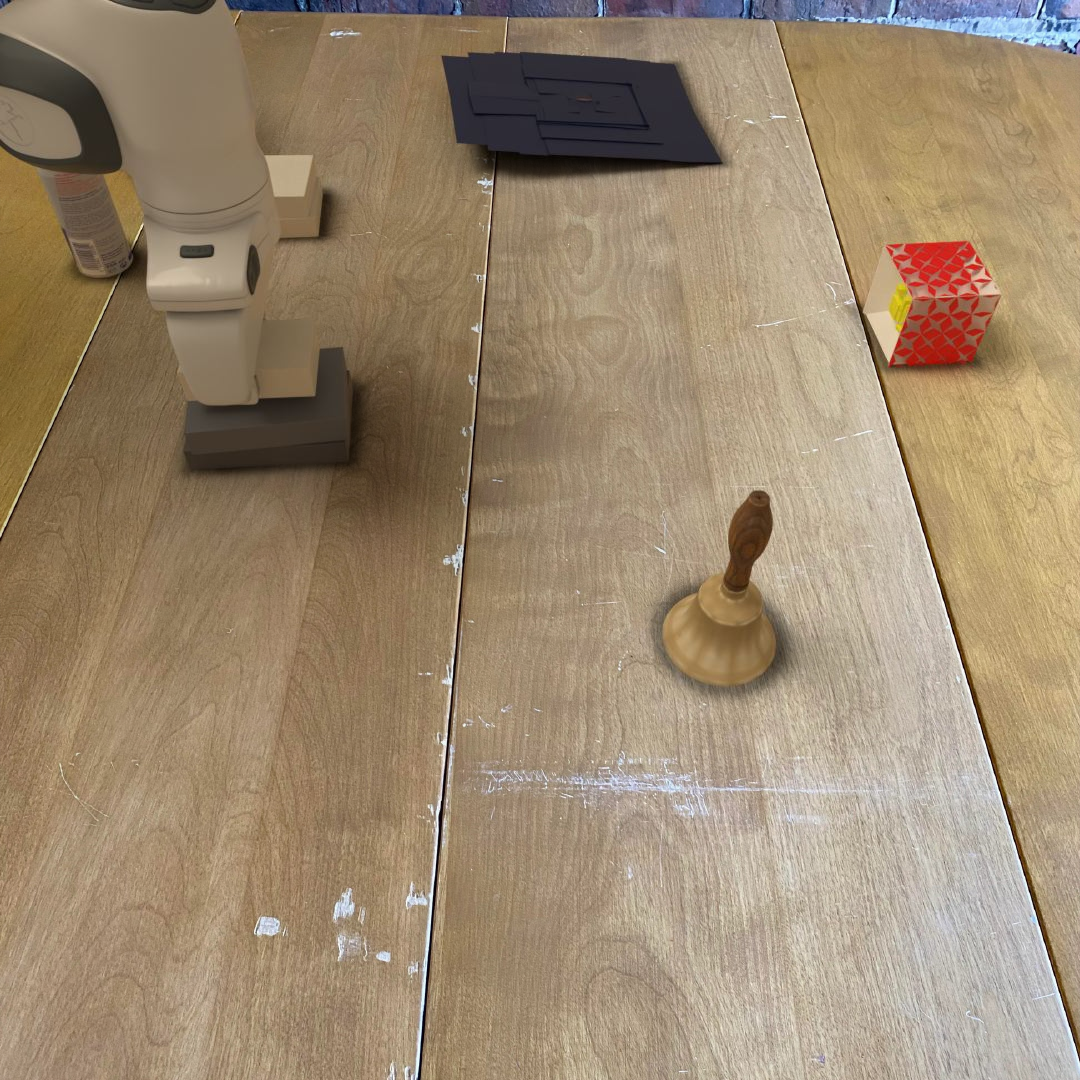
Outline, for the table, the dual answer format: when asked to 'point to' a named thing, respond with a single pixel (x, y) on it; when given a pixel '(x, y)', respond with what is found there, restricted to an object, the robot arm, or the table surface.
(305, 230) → the beige rectangular box
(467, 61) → the papers
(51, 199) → the energy drink
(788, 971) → the table surface
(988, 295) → the red patterned cube box
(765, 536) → the hand bell
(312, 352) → the beige rectangular block
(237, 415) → the grey lidded box
